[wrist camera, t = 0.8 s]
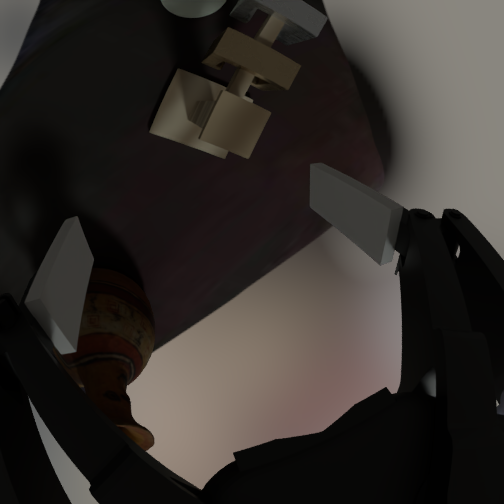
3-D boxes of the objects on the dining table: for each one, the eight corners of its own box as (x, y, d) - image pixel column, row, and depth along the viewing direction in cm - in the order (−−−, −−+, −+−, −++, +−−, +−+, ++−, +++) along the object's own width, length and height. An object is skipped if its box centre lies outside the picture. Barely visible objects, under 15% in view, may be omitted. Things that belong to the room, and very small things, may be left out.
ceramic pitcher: (170, 315, 53) (200, 458, 29) (94, 346, 51) (95, 475, 27) (118, 238, 42) (103, 409, 18) (37, 284, 40) (-3, 428, 16)
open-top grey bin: (229, 15, 22) (247, -3, 17) (240, -2, 21) (261, -23, 15) (287, 45, 26) (317, 37, 20) (297, 28, 25) (327, 17, 19)
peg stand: (149, 131, 35) (141, 157, 19) (216, 2, 27) (265, -56, 11) (222, 157, 41) (271, 202, 25) (285, 36, 33) (368, 12, 17)
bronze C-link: (201, 62, 25) (213, 52, 19) (213, 41, 24) (228, 27, 18) (262, 90, 29) (288, 90, 23) (273, 70, 27) (301, 65, 22)
